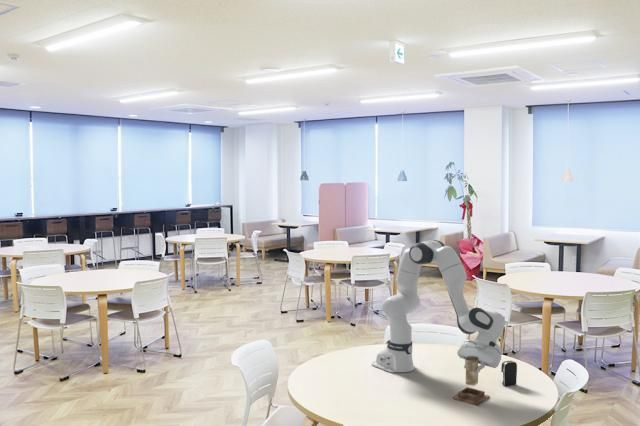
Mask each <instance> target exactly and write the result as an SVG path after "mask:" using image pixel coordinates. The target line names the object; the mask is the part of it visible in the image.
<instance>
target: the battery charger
mask: <svg viewBox="0 0 640 426" xmlns="http://www.w3.org/2000/svg"><path fill="white" fill-rule="evenodd" d="M500 369H501V371H500V372H501V373H502V377H503V379H502V382H501V384H502V385H503V386H504V387H511V386H516V385H517V379H518V374H517V373H518V364H517V362H516V361H513V360H504V361H502V363H501V368H500Z"/></svg>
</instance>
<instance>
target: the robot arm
mask: <svg viewBox="0 0 640 426" xmlns="http://www.w3.org/2000/svg"><path fill="white" fill-rule="evenodd" d="M398 263H399V264H398V267H397V272H396V277H395V283H396V285H397V286H398V288H397V289H398V291H397V294H393V295H390V296H389V297H387V298H385V299H384V300H383V301H382V303H381V311H382V312H383V314H384V315H385V317H387V322H388V323H389V324H388V325H389V339H388V340H387V341H386V342H385V345H387V346H386V347H384V348H383V349H381V350H380V351H379V352H378V353H377V354H376V359H375V360H373V361H372V362H371V366H373V367H376V368H378V369H380V370H384V371H386V372H388V373H391V374H392V373H393V374H394V373H407V372H408V373H409V372H412V371H414V370H415V365H414V361H413V340H412V335H413V334H412V332H413V330H412V328H413V327H412V326H411V324H410V323H409V322H408V318H407V315H408V314H411V313H414V312H415V311H416V310H417V309H418V308H419V307H420V306H421V300H420V297H419V295H418V282H419V278H420V273H421V270H422V269H421V268H422V265H427V264H431V263H434V264H435V265H436V266H437V267H438V269H439V271H440V274H441V276H442V279H443V280H444V283H445V286H446V289H447V292H448V295H449V300H450V302H451V303H452V306H453V310H454V311H455V315H456V324H457V327H458V329H459V330H460V331H461V332H462V333H463V334H466V335H473V334H475V333H476V332H477V333H478V334H477V335H476V338H475V340H470V339H467V340H465V341H464V342H463V343H462V344H461V346H460V347H459V348H458V350H457V355H458V358H460V359H463V360H464V365H463V369H465V370H466V357H468V356H470V355H471V356H475V357H478V367H476V369H475V371H476V372H478V374H479V373H480V372H481V370H483V369H484V368H485V367H489V368H493V369H497V367H499V365H500V363H501V361H502V355H503V354H504V351H503V349H502V347H500V345H499V344H498V340H499V338H500V337H501V335H502V334H503V331H504V329H505V326H506V320H505V319H506V318H505V317H504V316H503V315H502V314H501V313H499V312H497V311H489V310H485V309H484V308H481V307H474V308H471V309H469V307H468V305H467V304H468V303H467V301H466V299H465V296H464V291H463V290H464V286H465V283H466V281H467V277H468V276H467V272H466V268H465V266H464V264H463V262H462V260H461V258H460V257H459V255H458V254H457V252H456V250H454V248H453V247H452V246H450V245H445V243H443V241H441V240H436V239H433V240H424V241H421V242H416V243H414V244H413V245H412V246H410V248H406V249H405V250H404V251H403V253H402V255H401V257H400V261H399V262H398ZM479 364H480V365H479Z"/></svg>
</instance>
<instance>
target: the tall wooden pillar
mask: <svg viewBox="0 0 640 426" xmlns="http://www.w3.org/2000/svg"><path fill="white" fill-rule="evenodd" d="M476 367H479V363H478V357H475V356H471V355H470V356H468V357H466V369H465V384H466V385H469V386H473V387H474V386H476V385H477V384H479V373H478V372H476V371H475V369H476Z"/></svg>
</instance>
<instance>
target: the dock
mask: <svg viewBox="0 0 640 426" xmlns="http://www.w3.org/2000/svg"><path fill="white" fill-rule="evenodd" d="M490 396H491V395H488V394H485V391H484V390H479V389H475V388H473V387H468V386H466V387H465V388H462V389H461V390H460V391H458V392H457V393H456V394H455V395H453V396H452V400H457V401H460V402H463V403H467V404H471V405H475V406H477V407H478V406H480V405H481V404H483V403H484V402H485V401H486V400H488V399H490Z"/></svg>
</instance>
